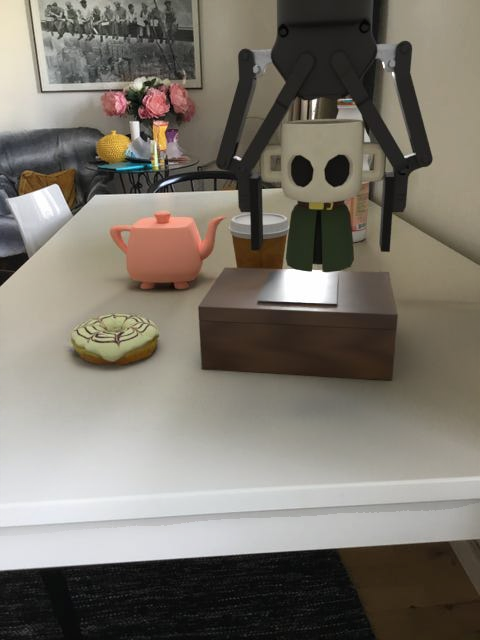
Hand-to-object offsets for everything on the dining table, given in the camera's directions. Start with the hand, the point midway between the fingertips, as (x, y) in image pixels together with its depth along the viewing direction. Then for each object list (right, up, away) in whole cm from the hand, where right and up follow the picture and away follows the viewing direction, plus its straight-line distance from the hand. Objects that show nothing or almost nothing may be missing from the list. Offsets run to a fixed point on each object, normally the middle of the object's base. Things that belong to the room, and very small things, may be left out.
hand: (319, 247), depth 52 cm
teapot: (-19, 0, +46) cm, 50 cm away
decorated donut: (-23, -11, +20) cm, 33 cm away
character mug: (0, -2, +1) cm, 2 cm away
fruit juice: (+15, +11, +70) cm, 72 cm away
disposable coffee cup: (-4, -2, +40) cm, 40 cm away
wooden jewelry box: (0, -10, +20) cm, 22 cm away
